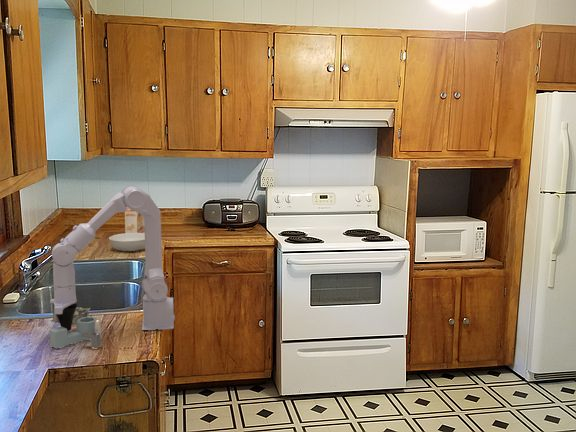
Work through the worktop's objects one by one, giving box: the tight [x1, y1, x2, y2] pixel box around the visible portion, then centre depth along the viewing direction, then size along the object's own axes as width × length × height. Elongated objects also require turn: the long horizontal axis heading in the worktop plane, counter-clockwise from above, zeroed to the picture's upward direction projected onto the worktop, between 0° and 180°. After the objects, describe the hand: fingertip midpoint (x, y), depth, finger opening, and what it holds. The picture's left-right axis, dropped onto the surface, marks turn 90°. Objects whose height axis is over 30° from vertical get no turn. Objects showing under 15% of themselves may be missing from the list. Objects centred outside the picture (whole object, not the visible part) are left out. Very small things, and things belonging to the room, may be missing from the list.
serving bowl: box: [108, 233, 145, 252], centre depth 272 cm, size 21×21×7 cm
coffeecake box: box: [124, 207, 145, 233], centre depth 297 cm, size 15×7×20 cm, turn 179°
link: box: [49, 316, 99, 349], centre depth 155 cm, size 13×5×5 cm, turn 141°
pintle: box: [94, 318, 102, 341], centre depth 155 cm, size 2×2×6 cm
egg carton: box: [50, 306, 91, 325], centre depth 172 cm, size 11×8×4 cm
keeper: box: [81, 332, 101, 348], centre depth 150 cm, size 2×5×4 cm, turn 78°
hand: (66, 330), depth 157 cm, fingers closed
